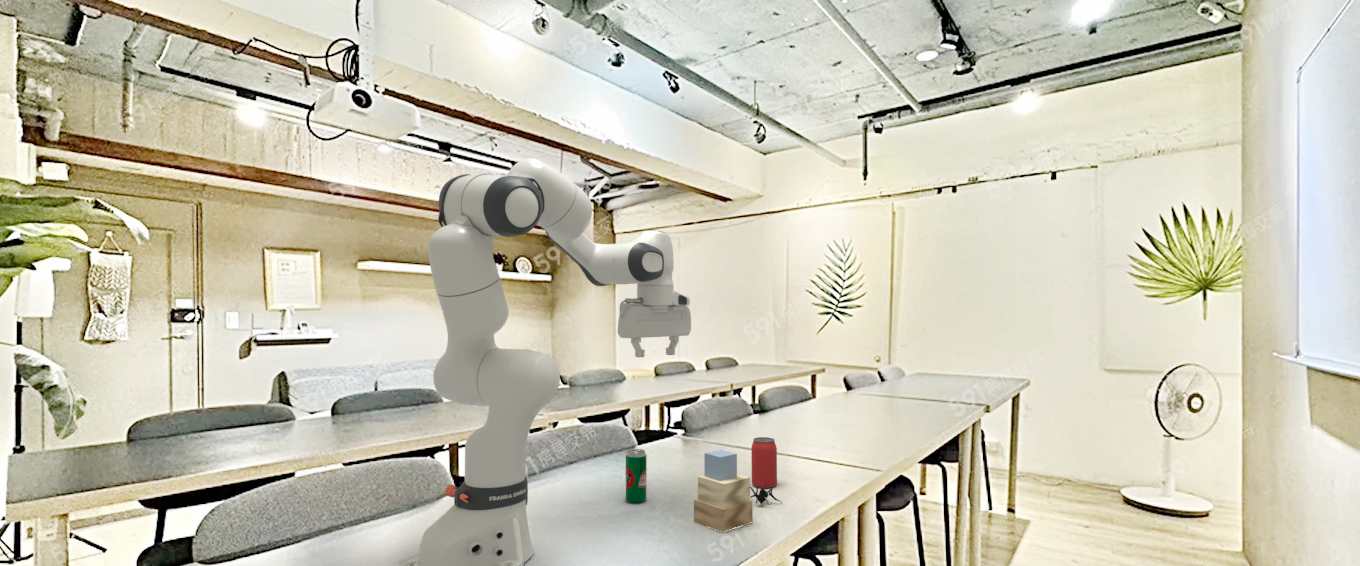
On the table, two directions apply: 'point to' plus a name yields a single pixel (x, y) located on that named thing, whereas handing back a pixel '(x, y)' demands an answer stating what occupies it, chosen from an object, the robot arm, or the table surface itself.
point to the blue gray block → (720, 465)
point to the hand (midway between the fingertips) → (655, 356)
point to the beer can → (764, 462)
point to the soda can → (636, 476)
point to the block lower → (722, 515)
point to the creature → (763, 495)
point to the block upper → (724, 491)
